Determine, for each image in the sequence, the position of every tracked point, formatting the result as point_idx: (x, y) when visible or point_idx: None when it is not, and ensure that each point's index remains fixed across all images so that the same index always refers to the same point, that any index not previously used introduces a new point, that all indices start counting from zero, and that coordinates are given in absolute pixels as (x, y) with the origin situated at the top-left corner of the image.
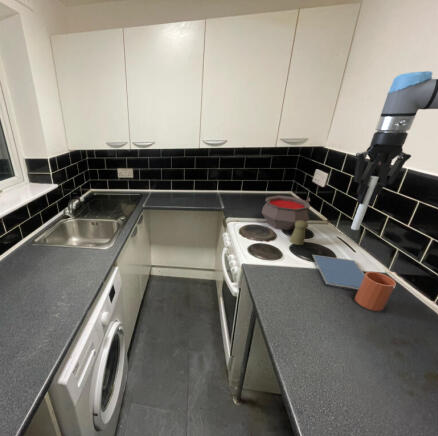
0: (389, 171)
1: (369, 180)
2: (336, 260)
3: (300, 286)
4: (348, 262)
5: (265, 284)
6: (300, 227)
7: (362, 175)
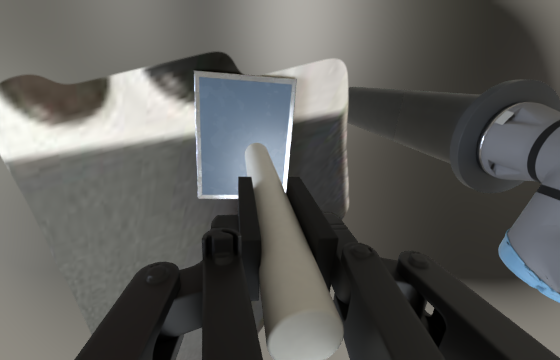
0: (502, 354)
1: (263, 316)
2: (251, 92)
3: (147, 213)
4: (277, 95)
5: (73, 228)
6: None
7: (203, 314)
